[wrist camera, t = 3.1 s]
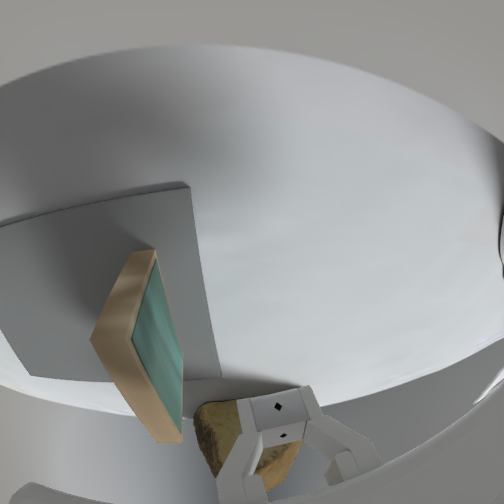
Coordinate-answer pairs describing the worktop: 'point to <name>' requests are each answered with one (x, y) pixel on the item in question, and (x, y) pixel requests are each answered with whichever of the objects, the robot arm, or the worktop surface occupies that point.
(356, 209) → the worktop surface
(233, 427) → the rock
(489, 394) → the robot arm
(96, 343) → the coaster
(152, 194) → the mat
